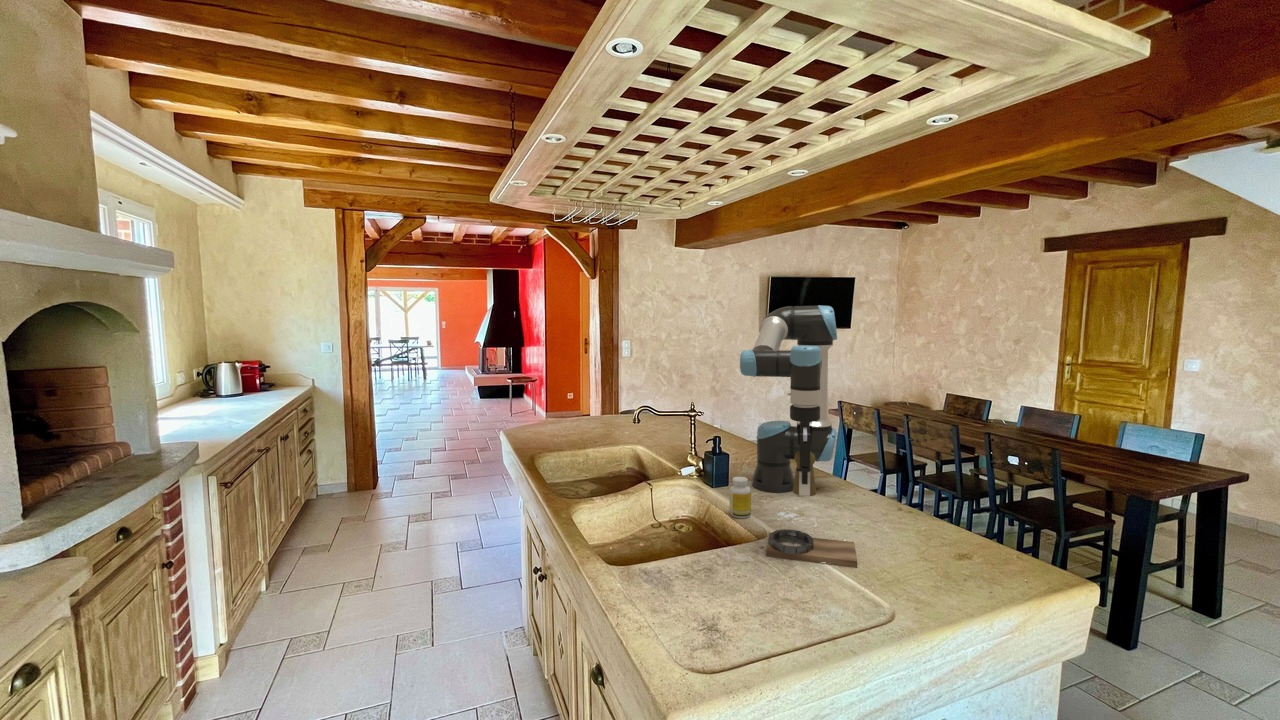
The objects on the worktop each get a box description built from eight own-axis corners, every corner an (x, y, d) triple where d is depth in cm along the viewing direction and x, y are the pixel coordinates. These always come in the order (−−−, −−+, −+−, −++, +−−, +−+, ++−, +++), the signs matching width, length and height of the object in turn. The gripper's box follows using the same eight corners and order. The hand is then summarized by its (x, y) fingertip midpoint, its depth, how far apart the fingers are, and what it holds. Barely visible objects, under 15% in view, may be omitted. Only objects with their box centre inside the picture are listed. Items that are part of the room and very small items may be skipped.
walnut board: (769, 538, 146) (769, 532, 145) (853, 547, 139) (854, 542, 138) (766, 556, 135) (766, 550, 135) (857, 567, 128) (857, 561, 128)
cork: (813, 488, 140) (813, 448, 139) (819, 496, 134) (819, 455, 133) (790, 488, 141) (790, 448, 140) (795, 496, 135) (795, 454, 134)
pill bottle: (752, 518, 159) (752, 482, 158) (731, 519, 159) (731, 482, 158) (748, 510, 166) (748, 475, 164) (728, 511, 166) (728, 475, 165)
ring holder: (770, 532, 145) (770, 527, 145) (813, 537, 142) (813, 532, 142) (767, 550, 135) (767, 545, 135) (813, 556, 131) (813, 550, 131)
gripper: (790, 398, 145) (790, 478, 147) (789, 411, 127) (788, 502, 129) (818, 399, 143) (817, 480, 145) (821, 412, 125) (820, 505, 127)
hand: (804, 490), depth 137 cm, fingers closed on cork, 6 cm apart
